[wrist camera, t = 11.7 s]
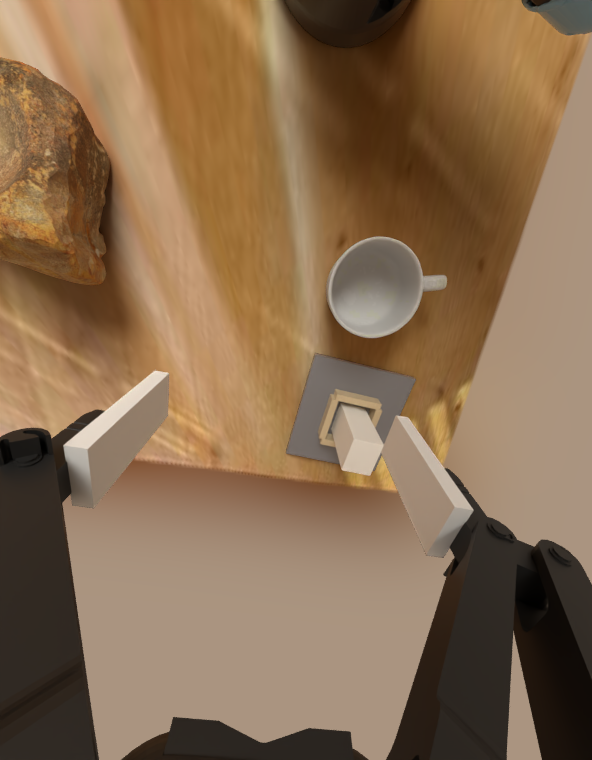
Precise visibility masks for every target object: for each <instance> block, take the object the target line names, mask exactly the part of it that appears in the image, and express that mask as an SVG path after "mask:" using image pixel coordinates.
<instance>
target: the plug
mask: <svg viewBox="0 0 592 760" xmlns="http://www.w3.org/2000/svg"><path fill="white" fill-rule="evenodd" d="M331 430H332V434H333V438H334V442H335V446H336V450H337V454H338V458H339V462H340V466H341V470H343V471H348V472H353V473H358V474H363V475H368V476H370V475H371V473H372V471H373V468H374V466H375V464H376V462H377V460H378V457H379V455H380V453H381V451H382V448H383V446H384V444H383V442H382V441H381V439H380V437H379V435H378V433H377V431H376V429H375V427H374V425H373V423H372V421H371V419H370V417H369V415H368V414H367V412H366V410H365V408H363V407H359V406H354V405H350V404H346V403H340V405H339V408H338V411H337V414H336V417H335V420H334V422H333V425H332V428H331Z"/></svg>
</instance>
